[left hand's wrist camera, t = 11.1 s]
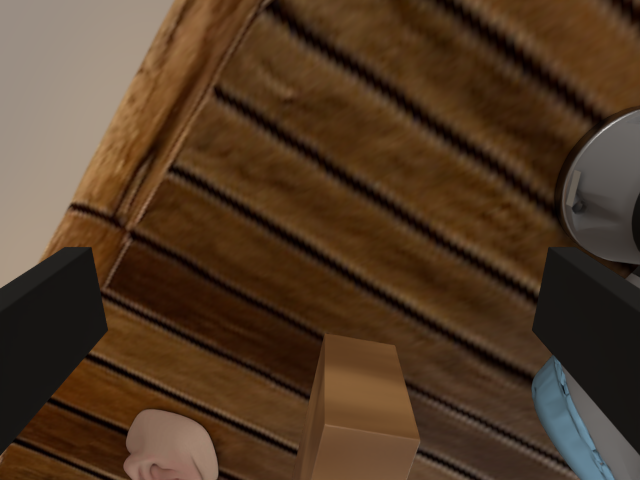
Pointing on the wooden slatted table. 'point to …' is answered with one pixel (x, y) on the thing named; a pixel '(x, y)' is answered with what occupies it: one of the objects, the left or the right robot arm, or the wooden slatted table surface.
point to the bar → (357, 415)
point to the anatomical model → (169, 448)
